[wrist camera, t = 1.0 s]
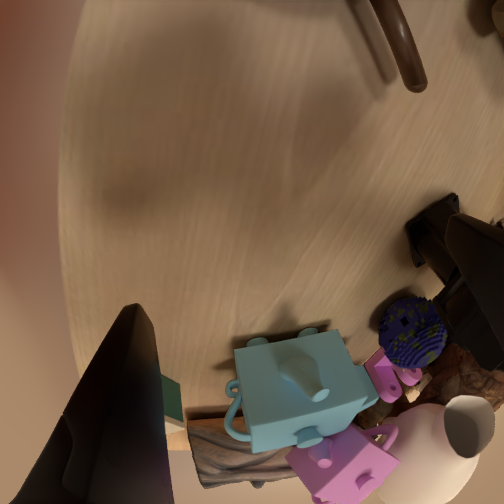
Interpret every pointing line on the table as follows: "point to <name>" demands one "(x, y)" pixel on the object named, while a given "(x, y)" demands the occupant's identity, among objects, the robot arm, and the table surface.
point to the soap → (423, 382)
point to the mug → (399, 407)
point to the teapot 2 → (345, 464)
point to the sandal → (498, 16)
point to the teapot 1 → (296, 390)
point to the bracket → (389, 376)
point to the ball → (412, 333)
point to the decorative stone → (373, 413)
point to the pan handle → (401, 44)
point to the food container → (172, 406)
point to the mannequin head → (436, 450)
